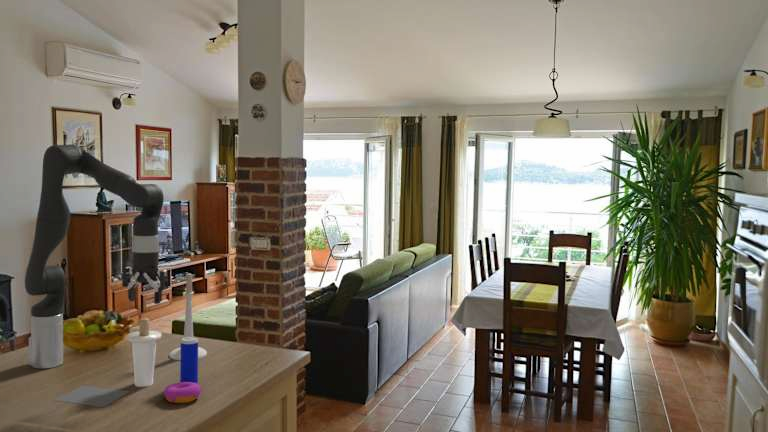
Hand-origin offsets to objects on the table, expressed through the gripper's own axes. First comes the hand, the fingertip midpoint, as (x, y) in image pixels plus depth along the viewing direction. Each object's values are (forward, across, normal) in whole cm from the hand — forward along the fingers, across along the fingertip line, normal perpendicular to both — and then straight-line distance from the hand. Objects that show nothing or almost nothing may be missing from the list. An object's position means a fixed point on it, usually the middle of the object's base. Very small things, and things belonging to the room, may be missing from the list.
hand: (145, 302), depth 183 cm
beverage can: (+26, +13, +4) cm, 30 cm away
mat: (+26, -8, -13) cm, 30 cm away
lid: (+11, 0, 0) cm, 11 cm away
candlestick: (+27, -3, +31) cm, 41 cm away
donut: (+26, +17, -6) cm, 32 cm away
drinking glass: (+26, 0, 0) cm, 27 cm away
